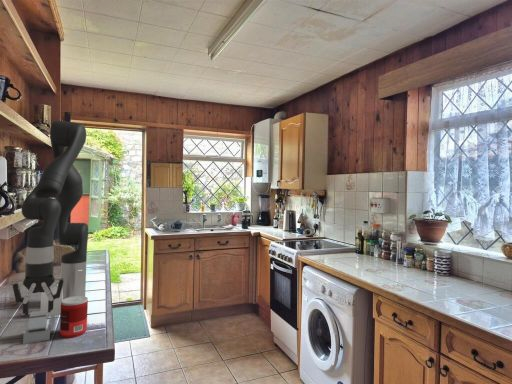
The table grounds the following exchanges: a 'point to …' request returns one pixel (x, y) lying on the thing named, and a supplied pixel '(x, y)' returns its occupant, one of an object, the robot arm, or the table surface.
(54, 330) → the table surface
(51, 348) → the table surface
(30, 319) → the block
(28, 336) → the rail channel
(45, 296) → the tea bag
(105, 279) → the table surface
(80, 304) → the canned food
